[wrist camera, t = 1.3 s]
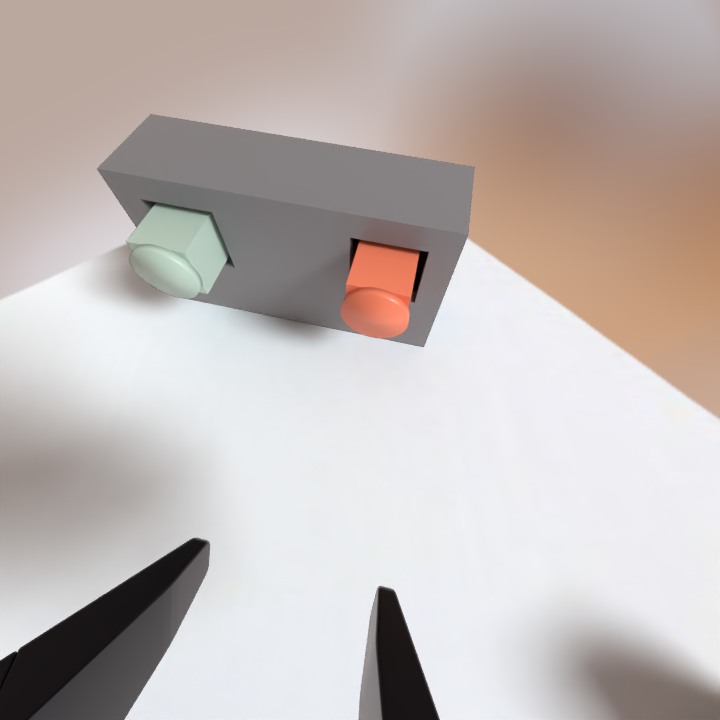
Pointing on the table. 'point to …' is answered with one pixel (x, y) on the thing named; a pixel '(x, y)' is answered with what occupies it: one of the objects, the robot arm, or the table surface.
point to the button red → (379, 289)
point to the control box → (298, 213)
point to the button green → (178, 250)
